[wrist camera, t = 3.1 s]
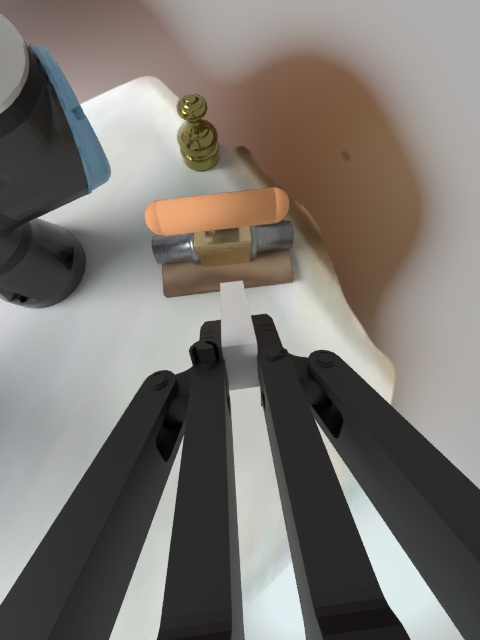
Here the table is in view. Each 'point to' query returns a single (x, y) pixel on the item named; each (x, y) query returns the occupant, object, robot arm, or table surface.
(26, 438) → the table surface
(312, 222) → the table surface
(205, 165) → the gold pawn figurine
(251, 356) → the robot arm
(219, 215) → the valve lever
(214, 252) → the pipe valve
